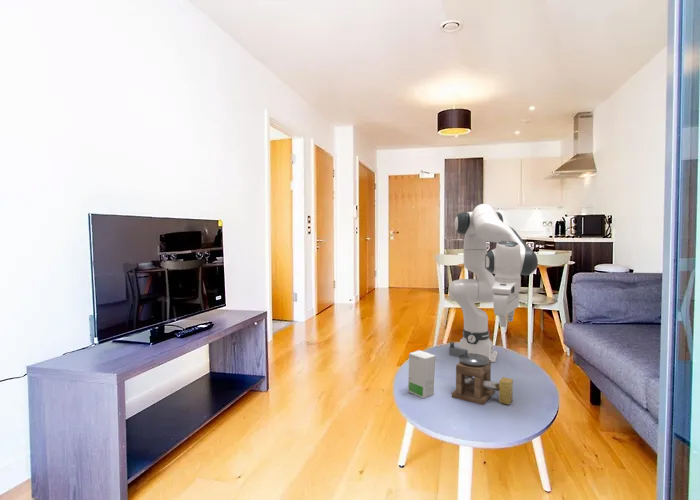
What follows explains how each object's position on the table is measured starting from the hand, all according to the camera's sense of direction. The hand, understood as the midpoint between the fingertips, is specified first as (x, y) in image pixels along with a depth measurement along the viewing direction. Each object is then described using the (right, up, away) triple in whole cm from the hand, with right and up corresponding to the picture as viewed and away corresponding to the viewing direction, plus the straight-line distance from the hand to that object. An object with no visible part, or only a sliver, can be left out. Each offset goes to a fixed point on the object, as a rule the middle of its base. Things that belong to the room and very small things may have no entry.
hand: (506, 323), depth 146 cm
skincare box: (-29, -29, +10) cm, 42 cm away
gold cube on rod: (-6, -29, +6) cm, 30 cm away
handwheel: (-11, -16, +10) cm, 22 cm away
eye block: (-10, -29, +9) cm, 31 cm away
